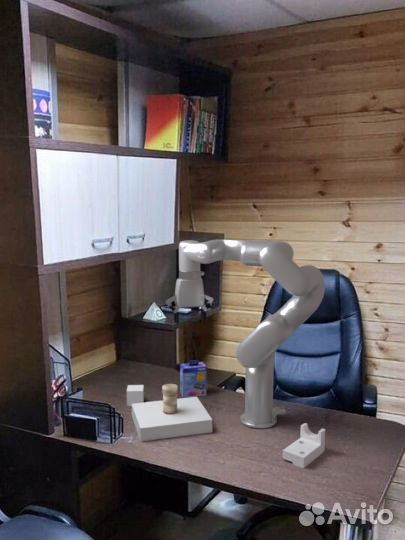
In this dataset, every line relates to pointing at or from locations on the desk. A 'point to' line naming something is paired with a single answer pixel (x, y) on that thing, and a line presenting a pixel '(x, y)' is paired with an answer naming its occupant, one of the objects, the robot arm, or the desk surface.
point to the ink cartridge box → (193, 379)
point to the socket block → (170, 419)
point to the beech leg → (170, 398)
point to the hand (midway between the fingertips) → (189, 322)
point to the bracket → (305, 447)
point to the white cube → (135, 394)
